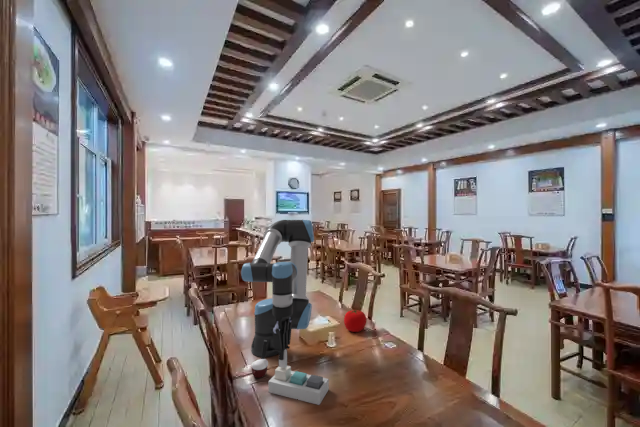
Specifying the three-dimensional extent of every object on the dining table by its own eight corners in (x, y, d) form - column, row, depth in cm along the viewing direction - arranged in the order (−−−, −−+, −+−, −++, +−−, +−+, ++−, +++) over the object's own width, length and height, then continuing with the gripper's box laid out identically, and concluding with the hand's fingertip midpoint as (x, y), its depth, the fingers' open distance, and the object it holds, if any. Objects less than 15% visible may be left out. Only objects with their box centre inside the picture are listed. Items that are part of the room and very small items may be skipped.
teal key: (290, 388, 110) (290, 377, 110) (296, 381, 114) (295, 371, 114) (301, 390, 109) (301, 379, 108) (306, 383, 113) (306, 373, 113)
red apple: (341, 333, 162) (340, 312, 162) (348, 324, 175) (348, 305, 174) (362, 336, 158) (362, 315, 158) (368, 327, 170) (368, 307, 170)
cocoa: (255, 383, 116) (255, 352, 116) (246, 377, 121) (245, 347, 120) (274, 372, 124) (274, 343, 123) (264, 367, 128) (264, 339, 128)
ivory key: (275, 380, 112) (274, 369, 112) (280, 374, 117) (280, 364, 117) (285, 383, 111) (285, 372, 111) (291, 376, 115) (290, 366, 115)
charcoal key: (306, 391, 108) (306, 380, 108) (311, 385, 112) (311, 374, 112) (318, 394, 106) (318, 383, 106) (322, 387, 110) (322, 376, 110)
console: (268, 392, 111) (268, 381, 111) (281, 378, 119) (280, 368, 119) (319, 405, 103) (319, 393, 103) (328, 389, 112) (328, 378, 112)
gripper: (283, 310, 106) (283, 377, 106) (299, 300, 118) (299, 360, 118) (264, 308, 108) (264, 373, 109) (282, 298, 121) (282, 357, 121)
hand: (282, 366), depth 113 cm, fingers closed
